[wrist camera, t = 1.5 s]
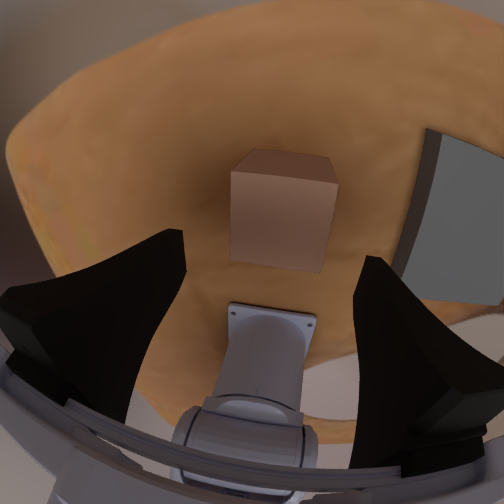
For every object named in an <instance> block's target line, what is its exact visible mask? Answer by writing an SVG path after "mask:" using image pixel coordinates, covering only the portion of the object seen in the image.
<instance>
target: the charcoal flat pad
mask: <svg viewBox="0 0 504 504" xmlns="http://www.w3.org/2000/svg"><path fill="white" fill-rule="evenodd" d="M391 268H392V270H393V271H394V272H395V273H396V274H397V275H398V277H399V278H400V279H401V280H402V281H403V282H404V283H405V285H406V286H407V287H408V288H409V289H410V290H411V291H412V292H413V294H414V295H415V296H416V297H417V298H420V299H429V300H439V301H450V302H461V303H472V304H484V305H496V306H498V305H499V303H500V302H501V300H502V298H503V296H504V159H503V158H501V157H499V156H497V155H495V154H493V153H491V152H488V151H486V150H484V149H481V148H479V147H477V146H474V145H472V144H469V143H467V142H464V141H462V140H459V139H456V138H454V137H451V136H448V135H445V134H442V133H440V132H437V131H434V130H430V129H427V128H426V134H425V140H424V146H423V151H422V157H421V162H420V166H419V171H418V175H417V180H416V184H415V188H414V192H413V196H412V200H411V204H410V208H409V211H408V215H407V218H406V222H405V225H404V228H403V232H402V235H401V238H400V241H399V244H398V247H397V250H396V253H395V256H394V259H393V262H392V265H391Z"/></svg>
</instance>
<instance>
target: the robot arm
mask: <svg viewBox="0 0 504 504" xmlns="http://www.w3.org/2000/svg"><path fill="white" fill-rule="evenodd" d="M186 272H187V270H186V261H185V252H184V242H183V231H182V230H177V229H166V230H164V231H161V232H159V233H157V234H155V235H153V236H151V237H149V238H147V239H146V240H144V241H142V242H140V243H138V244H136V245H134V246H132V247H130V248H129V249H127V250H125V251H122V252H120V253H118V254H116V255H114V256H112V257H110V258H109V259H106V260H104V261H102V262H100V263H97V264H95V265H92V266H90V267H88V268H85V269H82V270H80V271H76V272H73V273H70V274H67V275H65V276H61V277H58V278H54V279H51V280H46V281H42V282H38V283H33V284H27V285H21V286H13V287H10V288H8V289H7V290H6V291H5V292H4V293H3V294H2V295H1V297H0V328H1V330H2V331H3V333H4V334H5V336H6V337H7V339H8V340H9V342H10V343H11V344H12V346H13V347H14V349H15V350H14V351H13V352H12V354H10V352H8V350H7V349H6V348H4V347H3V346H2V345H1V344H0V426H1V427H2V428H3V429H4V431H5V432H6V433H7V434H8V435H9V436H10V437H11V438H12V439H13V440H14V441H15V442H16V443H17V444H18V445H19V446H20V447H21V448H22V449H23V450H24V451H25V452H26V453H27V454H28V455H29V456H30V457H31V458H32V459H33V460H34V461H36V462H37V463H38V464H39V465H40V466H41V467H42V468H43V469H45V470H46V471H47V472H48V473H49V474H51V475H52V476H53V477H54V478H56V479H57V480H56V482H55V484H54V487H53V490H52V493H51V495H50V497H49V500H48V502H47V504H496V503H498V502H500V501H502V500H503V499H504V435H503V436H500V437H497V438H494V439H492V440H489V441H487V442H485V443H483V439H482V436H484V435H485V434H486V433H487V428H486V423H488V422H489V421H490V420H492V419H493V418H494V417H495V416H497V415H498V414H499V413H500V412H501V411H503V410H504V367H503V366H502V365H500V364H498V363H497V362H495V361H493V360H491V359H489V358H488V357H486V356H485V355H483V354H482V353H480V352H479V351H477V350H476V349H474V348H473V347H472V346H470V345H469V344H467V343H466V342H465V341H464V340H462V339H461V338H460V337H458V336H457V335H456V334H455V333H453V332H452V331H451V330H450V329H449V328H448V327H447V326H445V325H444V324H443V323H442V322H441V321H440V320H439V319H438V318H437V317H436V316H435V315H434V314H433V313H432V312H430V311H429V310H428V309H427V307H426V306H425V305H424V304H423V303H422V302H421V301H420V300H419V299H418V298H417V297H416V296H415V295H414V294H413V292H412V291H411V290H410V289H409V288H408V287H407V286H406V285H405V283H404V282H403V281H402V280H401V279H400V278H399V277H398V275H397V274H396V273H395V272H394V271H393V270H392V268H391V267H390V266H389V265H388V264H387V263H386V262H385V261H384V260H383V259H382V258H381V257H374V256H367V255H366V258H365V262H364V265H363V268H362V271H361V274H360V277H359V280H358V283H357V286H356V289H355V292H354V295H353V320H354V327H355V335H356V343H357V351H358V360H359V372H360V381H359V404H358V415H357V424H356V431H355V438H354V444H353V450H352V455H351V460H350V464H349V468H348V469H316V463H317V456H318V437H317V434H316V433H315V431H314V430H313V428H312V427H311V426H310V425H303V418H304V413H302V412H300V402H301V392H302V382H303V370H304V361H305V357H306V354H307V351H308V348H309V345H310V342H311V339H312V335H313V332H314V329H315V325H316V322H317V318H316V316H314V315H309V314H302V313H295V312H287V311H281V310H274V309H267V308H261V307H254V306H248V305H242V304H236V303H231V304H230V305H229V307H228V335H229V344H228V347H227V350H226V353H225V357H224V360H223V363H222V366H221V369H220V372H219V375H218V378H217V381H216V384H215V387H214V390H213V393H212V396H211V397H209V396H206V397H205V400H204V403H203V405H202V407H200V406H193V407H191V408H190V409H189V410H187V411H185V412H184V413H183V414H182V416H181V417H180V419H179V421H178V423H177V425H176V428H175V430H174V433H173V437H172V440H171V442H169V441H166V440H163V439H160V438H157V437H155V436H152V435H149V434H147V433H144V432H141V431H139V430H136V429H134V428H131V427H129V426H127V425H125V420H126V415H127V411H128V407H129V403H130V399H131V395H132V392H133V388H134V385H135V382H136V379H137V376H138V373H139V370H140V367H141V364H142V361H143V359H144V356H145V354H146V351H147V349H148V346H149V344H150V341H151V339H152V337H153V335H154V333H155V331H156V330H157V328H158V326H159V324H160V323H161V321H162V319H163V317H164V316H165V314H166V312H167V311H168V309H169V307H170V305H171V304H172V302H173V300H174V298H175V297H176V295H177V293H178V291H179V289H180V287H181V284H182V282H183V280H184V277H185V274H186ZM234 312H235V313H234ZM309 323H311V324H309ZM96 435H97V436H99V437H101V438H103V439H105V440H107V441H109V442H111V443H113V444H115V445H117V446H120V447H122V448H124V449H126V450H129V451H131V452H133V453H136V454H138V455H141V456H143V457H146V458H148V459H151V460H154V461H156V462H159V463H162V464H165V465H168V466H170V478H169V479H168V478H165V477H162V476H159V475H156V474H153V473H151V472H148V471H145V470H143V467H142V466H141V465H140V464H138V463H137V462H135V461H133V460H131V459H130V458H128V457H127V456H125V455H124V454H123V453H122V452H121V451H120V450H119V449H118V448H116V447H114V446H112V445H111V444H109V443H107V442H105V441H103V440H102V439H100V438H98V437H97V436H96ZM306 492H342V493H331V494H316V495H315V496H313V499H309V500H303V498H304V495H305V493H306Z"/></svg>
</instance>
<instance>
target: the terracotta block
mask: <svg viewBox="0 0 504 504" xmlns="http://www.w3.org/2000/svg"><path fill="white" fill-rule="evenodd" d="M338 185H339V184H338V181H337V178H336V175H335V173H334V170H333V167H332V164H331V162H330V159H329V158H328V157H322V156H315V155H308V154H300V153H292V152H283V151H274V150H263V149H253V150H252V151H251V152H250V153H249V154H248V155H247V156H246V157H245V158H244V159H243V160H242V161H241V162H240V163H239V164H238V165H237V166H236V167H235V168H234V169H233V170H232V171H231V202H230V261H237V262H244V263H251V264H258V265H264V266H271V267H278V268H285V269H293V270H300V271H307V272H314V273H321V271H322V267H323V262H324V258H325V253H326V248H327V244H328V239H329V234H330V229H331V224H332V219H333V214H334V208H335V203H336V197H337V191H338Z"/></svg>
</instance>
